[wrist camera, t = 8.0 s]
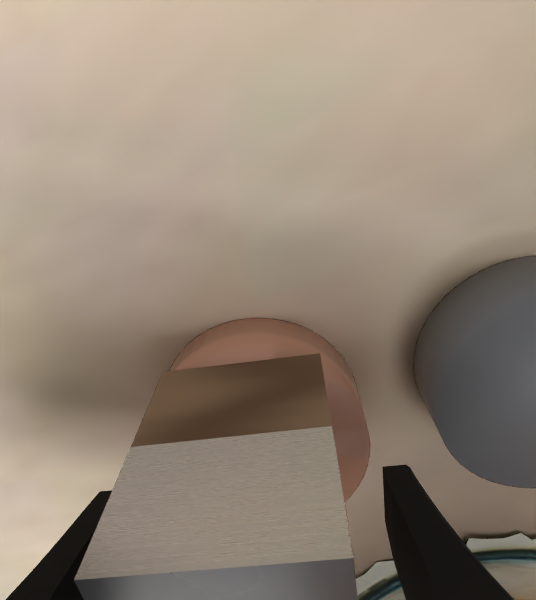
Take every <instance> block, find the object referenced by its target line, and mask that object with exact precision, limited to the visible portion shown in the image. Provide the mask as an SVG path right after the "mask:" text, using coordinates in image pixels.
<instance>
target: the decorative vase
mask: <svg viewBox="0 0 536 600" xmlns="http://www.w3.org/2000/svg"><path fill="white" fill-rule="evenodd" d="M466 546H467V547H468V548H469V549H470V551H471V552H472V553H473V554H474V555H475V557H476V558H477V559H478V560H479V561H480V562H481V563H482V565H483V566H484V567H485V568H486V569H487V570H488V572H489V573H490V574H491V575H492V576H493V577H494V578H495V579H496V580H497V581H498V583H499V584H500V585H501V586H502V587H503V588H504V589H505V590H506V591H507V592H508V593H509V594H510V595H511V596H512V597H513V598H514V599H515V600H536V539H533V540H531V539H530V538H528V537H527V536H525V535H523V534H522V533H519V534H516V535H513V536H510V537H507V538H500V539H475V538H469V539H468V542H467V544H466ZM356 586H357V595H358V600H406V599H405V596H404V593H403V589H402V586H401V583H400V580H399V577H398V573H397V570H396V567H395V564H394V561H383V562H376V563H375V564H374V565H373V566H372V567H371V568H370V570H369V571H368V572H367V573H366V574H364V575H362V576H360V577H358V578H356Z"/></svg>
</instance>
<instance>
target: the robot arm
mask: <svg viewBox="0 0 536 600" xmlns="http://www.w3.org/2000/svg"><path fill="white" fill-rule="evenodd" d="M383 485H384V507H385V523H386V527H387V532H388V537H389V542H390V546H391V551H392V555H393V560H394V564H395V567H396V570H397V573H398V577H399V580H400V583H401V586H402V589H403V593H404V596H405V599H406V600H515V599H514V598H513V597H512V596H511V595H510V594H509V593H508V592H507V591H506V590H505V589H504V588H503V587H502V586H501V585H500V584H499V583H498V581H497V580H496V579H495V578H494V577H493V576H492V575H491V574H490V573H489V572H488V570H487V569H486V568H485V567H484V566H483V565H482V563H481V562H480V561H479V560H478V559H477V558H476V557H475V555H474V554H473V553H472V552H471V551H470V549H469V548H468V547H467V546H466V545H465V543H464V542H463V541H462V540H461V538H460V537H459V536H458V535H457V533H456V532H455V531H454V530H453V528H452V527H451V526H450V525H449V523H448V522H447V521H446V519H445V518H444V517H443V516H442V514H441V513H440V512H439V510H438V509H437V507H436V506H435V505H434V503H433V502H432V500H431V499H430V498H429V496H428V495H427V493H426V492H425V490H424V489H423V487H422V486H421V484H420V483H419V481H418V480H417V478H416V477H415V475H414V473H413V472H412V470H411V468H410V467H408V466H407V465H398V466H386V467H383ZM111 492H112V491H101V492H99V493H98V494H97V496H96V497H95V498H94V499H93V500H92V501H91V503H90V504H89V505H88V506H87V507H86V509H85V510H84V511H83V512H82V513H81V514H80V516H79V517H78V518H77V519H76V520H75V522H74V523H73V524H72V525H71V526H70V528H69V529H68V530H67V531H66V532H65V534H64V535H63V536H62V537H61V538H60V540H59V541H58V542H57V543H56V544H55V545H54V546H53V548H52V549H51V550H50V551H49V552H48V553H47V555H46V556H45V557H44V558H43V559H42V560H41V562H40V563H39V564H38V565H37V566H36V567H35V568H34V569H33V571H32V572H31V573H30V574H29V575H28V576H27V577H26V578H25V579H24V580H23V581H22V582H21V584H20V585H19V586H18V587H17V588H16V589H15V590H14V591H13V592H12V593H11V594H10V596H9V597H8V598H7V599H6V600H84V599H83V597H82V595H81V593H80V591H79V589H78V587H77V585H76V583H75V581H74V579H75V577H76V574H77V572H78V570H79V567H80V565H81V563H82V560H83V558H84V556H85V553H86V551H87V549H88V546H89V544H90V541H91V539H92V537H93V534H94V532H95V530H96V527H97V525H98V523H99V520H100V518H101V516H102V513H103V511H104V509H105V506H106V504H107V502H108V499H109V497H110V495H111Z"/></svg>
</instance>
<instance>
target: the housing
mask: <svg viewBox="0 0 536 600" xmlns="http://www.w3.org/2000/svg"><path fill="white" fill-rule="evenodd" d="M74 581H75V583H76V585H77V587H78V589H79V591H80V593H81V595H82V597H83V599H84V600H358V595H357V586H356V577H355V567H354V558H353V552H352V546H351V540H350V534H349V527H348V521H347V515H346V509H345V503H344V497H343V491H342V485H341V479H340V472H339V466H338V460H337V454H336V448H335V442H334V436H333V430H332V423H331V417H330V411H329V405H328V399H327V393H326V387H325V381H324V374H323V368H322V362H321V356H320V353H318V354H309V355H301V356H292V357H284V358H276V359H269V360H260V361H252V362H243V363H235V364H226V365H218V366H209V367H200V368H191V369H183V370H174V371H166V372H163V373H162V376H161V378H160V380H159V383H158V385H157V387H156V390H155V392H154V394H153V397H152V399H151V401H150V404H149V406H148V408H147V411H146V413H145V415H144V418H143V420H142V422H141V425H140V427H139V429H138V432H137V434H136V436H135V439H134V441H133V443H132V446H131V448H130V450H129V453H128V455H127V457H126V460H125V462H124V464H123V467H122V469H121V471H120V474H119V476H118V478H117V481H116V483H115V485H114V488H113V490H112V492H111V495H110V497H109V499H108V502H107V504H106V506H105V509H104V511H103V513H102V516H101V518H100V520H99V523H98V525H97V527H96V530H95V532H94V534H93V537H92V539H91V541H90V544H89V546H88V549H87V551H86V553H85V556H84V558H83V560H82V563H81V565H80V567H79V570H78V572H77V574H76V577H75V579H74Z"/></svg>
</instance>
